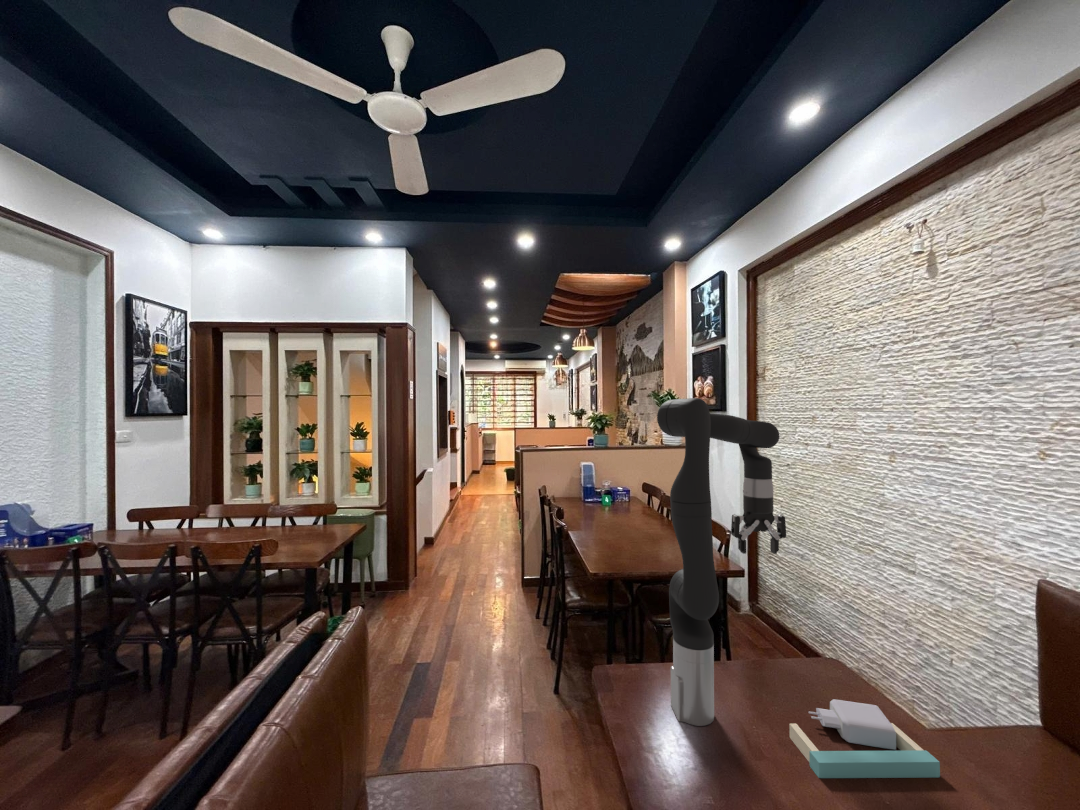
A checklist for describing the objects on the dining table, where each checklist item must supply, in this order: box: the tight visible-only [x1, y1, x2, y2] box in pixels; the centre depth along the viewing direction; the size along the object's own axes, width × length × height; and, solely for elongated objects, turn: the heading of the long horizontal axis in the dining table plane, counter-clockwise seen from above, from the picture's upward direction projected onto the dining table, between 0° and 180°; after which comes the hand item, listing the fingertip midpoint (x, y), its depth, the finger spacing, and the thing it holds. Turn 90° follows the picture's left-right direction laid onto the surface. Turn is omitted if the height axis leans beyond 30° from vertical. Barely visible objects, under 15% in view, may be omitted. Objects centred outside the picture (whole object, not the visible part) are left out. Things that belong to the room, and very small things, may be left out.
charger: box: [808, 698, 897, 751], centre depth 100 cm, size 5×9×15 cm
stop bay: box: [788, 722, 941, 779], centre depth 93 cm, size 24×11×3 cm, turn 90°
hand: (758, 552), depth 123 cm, fingers open, 8 cm apart
